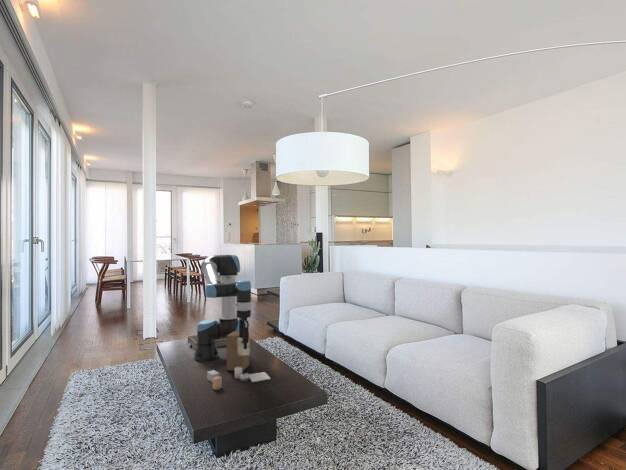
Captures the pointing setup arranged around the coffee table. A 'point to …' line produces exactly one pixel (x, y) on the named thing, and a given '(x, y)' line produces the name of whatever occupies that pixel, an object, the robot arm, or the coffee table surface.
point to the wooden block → (235, 353)
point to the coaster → (258, 377)
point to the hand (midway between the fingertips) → (243, 353)
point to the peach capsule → (217, 383)
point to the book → (193, 342)
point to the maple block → (239, 346)
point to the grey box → (212, 375)
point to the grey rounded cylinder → (238, 372)
